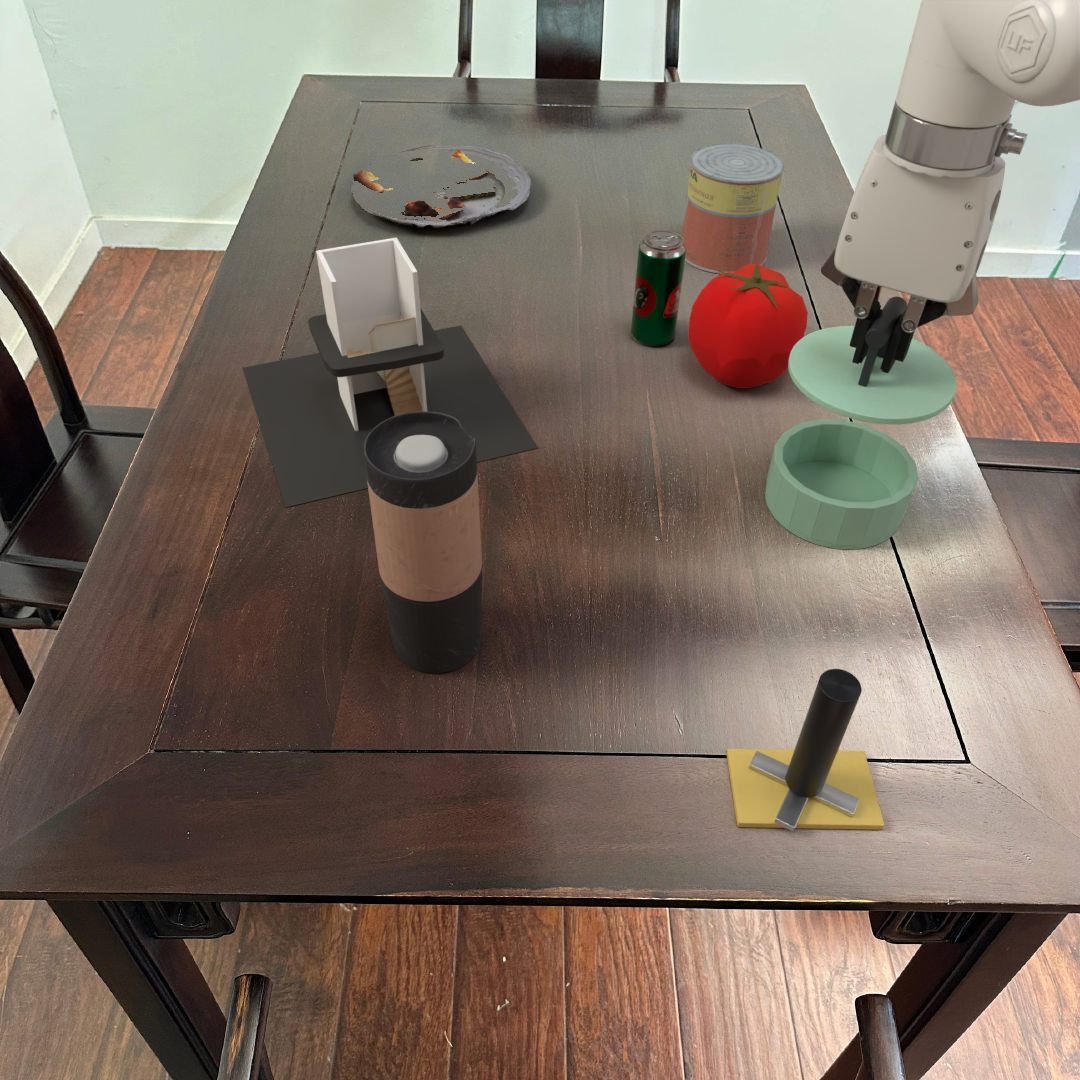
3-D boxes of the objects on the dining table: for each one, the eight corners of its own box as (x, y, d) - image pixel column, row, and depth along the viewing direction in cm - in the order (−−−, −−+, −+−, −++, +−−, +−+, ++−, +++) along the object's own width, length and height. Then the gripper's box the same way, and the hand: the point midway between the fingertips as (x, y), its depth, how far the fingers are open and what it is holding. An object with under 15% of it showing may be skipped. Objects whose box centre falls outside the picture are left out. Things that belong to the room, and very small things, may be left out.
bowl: (917, 487, 92) (933, 446, 89) (879, 569, 84) (894, 527, 81) (792, 444, 97) (802, 403, 93) (744, 517, 89) (753, 476, 85)
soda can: (669, 351, 109) (682, 253, 100) (626, 344, 110) (635, 245, 101) (678, 329, 112) (691, 231, 104) (636, 321, 113) (645, 224, 105)
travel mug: (376, 667, 76) (344, 471, 62) (407, 597, 81) (383, 402, 67) (470, 684, 75) (459, 489, 61) (495, 612, 80) (490, 418, 66)
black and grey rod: (871, 769, 69) (917, 668, 61) (837, 854, 64) (883, 756, 56) (771, 723, 72) (802, 621, 64) (731, 801, 67) (760, 701, 59)
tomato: (673, 394, 103) (686, 297, 95) (692, 329, 112) (706, 236, 104) (789, 413, 100) (812, 316, 92) (799, 346, 110) (821, 252, 102)
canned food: (697, 225, 131) (710, 136, 123) (778, 245, 127) (796, 154, 119) (666, 261, 124) (676, 168, 115) (749, 282, 120) (766, 189, 112)
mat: (862, 755, 70) (864, 750, 70) (882, 830, 66) (885, 825, 66) (726, 752, 70) (727, 748, 70) (737, 827, 66) (738, 822, 66)
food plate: (393, 252, 124) (390, 226, 122) (327, 184, 139) (323, 159, 136) (559, 211, 134) (560, 186, 131) (481, 151, 148) (480, 127, 146)
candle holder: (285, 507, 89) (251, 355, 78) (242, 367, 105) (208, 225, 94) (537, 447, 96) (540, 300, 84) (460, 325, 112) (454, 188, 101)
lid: (969, 366, 83) (995, 299, 78) (928, 451, 74) (955, 381, 70) (817, 321, 88) (833, 255, 83) (762, 396, 79) (777, 327, 75)
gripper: (1072, 141, 66) (982, 367, 79) (849, 95, 72) (799, 313, 85) (1053, 181, 62) (960, 413, 75) (816, 128, 67) (768, 353, 80)
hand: (875, 358), depth 80 cm, fingers closed on lid
